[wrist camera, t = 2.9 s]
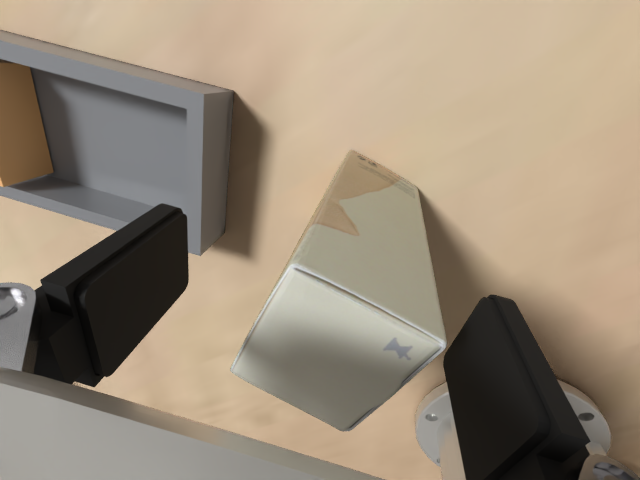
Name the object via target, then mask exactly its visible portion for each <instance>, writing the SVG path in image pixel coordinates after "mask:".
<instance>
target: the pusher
mask: <svg viewBox="0 0 640 480" xmlns="http://www.w3.org/2000/svg"><path fill="white" fill-rule="evenodd" d="M53 172H54V171H53V167H52V162H51V158H50V154H49V149H48V145H47V140H46V136H45V132H44V127H43V123H42V119H41V114H40V110H39V105H38V101H37V97H36V92H35V88H34V83H33V79H32V75H31V70H30V67H29V66H25V65H21V64H18V63H14V62H10V61H7V60H3V59H0V186H1V187H6V186H9V185H12V184H16V183H19V182H23V181H26V180H30V179H33V178H36V177H40V176H43V175H47V174H50V173H53Z"/></svg>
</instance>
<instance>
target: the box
mask: <svg viewBox="0 0 640 480" xmlns="http://www.w3.org/2000/svg"><path fill="white" fill-rule="evenodd" d="M446 345H447V339H446V334H445V328H444V323H443V318H442V313H441V308H440V303H439V297H438V292H437V287H436V282H435V276H434V272H433V266H432V260H431V256H430V251H429V245H428V240H427V234H426V229H425V224H424V219H423V214H422V208H421V202H420V197H419V192H418V188H417V187H416V186H414V185H413V184H411V183H409V182H408V181H406V180H405V179H403V178H402V177H400V176H398V175H397V174H395V173H393V172H392V171H390V170H388V169H386V168H385V167H383V166H381V165H380V164H378V163H376V162H374V161H372V160H370V159H369V158H367V157H365V156H363V155H361V154H359V153H357V152H355V151H353V150H351V151H349V152H348V154H347V155H346V157H345V159H344V161H343V162H342V164H341V166H340V168H339V169H338V171H337V173H336V175H335V176H334V178H333V180H332V182H331V183H330V185H329V187H328V189H327V191H326V192H325V194H324V196H323V198H322V199H321V201H320V203H319V205H318V207H317V209H316V210H315V212H314V214H313V216H312V218H311V220H310V222H309V224H308V225H307V227H306V229H305V231H304V233H303V234H302V236H301V238H300V240H299V242H298V244H297V246H296V247H295V249H294V251H293V253H292V255H291V257H290V259H289V261H288V262H287V264H286V266H285V268H284V270H283V272H282V273H281V275H280V277H279V279H278V281H277V283H276V284H275V286H274V288H273V290H272V292H271V294H270V295H269V297H268V299H267V301H266V303H265V305H264V306H263V308H262V310H261V312H260V313H259V315H258V317H257V319H256V321H255V323H254V324H253V326H252V328H251V330H250V332H249V334H248V336H247V337H246V339H245V341H244V343H243V345H242V347H241V349H240V351H239V353H238V355H237V357H236V359H235V360H234V362H233V364H232V366H231V369H230V371H231V372H232V373H233V374H235V375H236V376H238V377H240V378H241V379H243V380H245V381H247V382H248V383H250V384H252V385H254V386H256V387H258V388H260V389H262V390H263V391H265V392H267V393H269V394H271V395H273V396H275V397H277V398H279V399H281V400H283V401H285V402H287V403H289V404H291V405H293V406H295V407H297V408H299V409H301V410H303V411H304V412H306V413H308V414H310V415H312V416H314V417H316V418H318V419H320V420H322V421H323V422H325V423H327V424H329V425H331V426H333V427H335V428H336V429H338V430H340V431H350V430H352V429H354V428H355V427H356V426H357V425H358V424H359V423H361V422H362V421H363V420H364V419H365V418H367V417H368V416H369V415H370V414H371V413H372V412H374V411H375V410H376V409H377V408H378V407H380V406H381V405H382V404H383V403H385V402H386V401H387V400H388V399H389V398H391V397H392V396H393V395H394V394H395V393H396V392H397V391H398V390H400V389H401V388H402V387H403V386H404V385H405V384H406V383H407V382H408V381H410V380H411V379H412V378H413V377H414V376H415V375H416V374H417V373H419V372H420V371H421V370H422V369H423V368H424V367H425V366H426V365H428V364H429V363H430V362H431V361H432V360H433V359H434V358H435V357H437V356H438V355H439V354H440V353H441V352H442V351H443V350H444V349H445V348H446Z"/></svg>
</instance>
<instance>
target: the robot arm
mask: <svg viewBox="0 0 640 480" xmlns="http://www.w3.org/2000/svg"><path fill="white" fill-rule="evenodd" d="M188 280H189V279H188V227H187V216H186V215H185V214H183V211H182V209H181V208H178V207H175V206H171V205H167V204H163V203H161V204H159V205H157V206H156V207H154V208H152V209H151V210H149V211H148V212H146V213H145V214H143V215H141V216H140V217H138V218H137V219H135V220H134V221H132V222H130V223H129V224H127V225H126V226H124V227H123V228H121V229H119V230H118V231H116V232H115V233H113V234H112V235H110V236H108V237H107V238H105V239H104V240H102V241H101V242H99V243H98V244H96V245H94V246H93V247H91V248H90V249H88V250H87V251H85V252H83V253H82V254H80V255H79V256H77V257H76V258H74V259H72V260H71V261H69V262H68V263H66V264H65V265H63V266H61V267H60V268H58V269H57V270H55V271H54V272H52V273H50V274H49V275H47V276H46V277H44V278H43V279H41V283H42V286H41V287H39V288H37V289H36V290H33V289H32V288H31V287H30V286H27V285H24V284H21V283H12V282H11V283H0V480H385V479H382V478H378V477H375V476H372V475H369V474H366V473H362V472H359V471H356V470H353V469H350V468H346V467H343V466H340V465H337V464H333V463H330V462H327V461H324V460H320V459H317V458H314V457H311V456H308V455H304V454H301V453H298V452H295V451H291V450H288V449H285V448H282V447H278V446H275V445H272V444H269V443H265V442H262V441H259V440H256V439H252V438H249V437H246V436H243V435H239V434H236V433H233V432H230V431H226V430H223V429H220V428H216V427H213V426H210V425H207V424H203V423H200V422H197V421H193V420H190V419H187V418H183V417H180V416H177V415H173V414H170V413H167V412H164V411H160V410H157V409H154V408H150V407H147V406H144V405H140V404H137V403H134V402H130V401H127V400H124V399H120V398H117V397H114V396H111V395H107V394H104V393H100V392H96V391H93V390H89V389H86V388H82V387H79V386H75V385H72V383H73V382H74V381H75V382H79V383H82V384H85V385H88V386H92V387H95V386H96V385H97V384H98V383H99V382H100V381H101V379H102V378H103V377H104V376H105V377H108V376H110V375H111V374H113V373H114V372H115V370H116V369H117V368H118V367H119V366H120V365H121V364H122V362H123V361H124V360H125V359H126V358H127V357H128V355H129V354H130V353H131V352H132V351H133V350H134V349H135V347H136V346H137V345H138V344H139V343H140V342H141V340H142V339H143V338H144V337H145V336H146V335H147V334H148V332H149V331H150V330H151V329H152V328H153V327H154V325H155V324H156V323H157V322H158V321H159V320H160V319H161V317H162V316H163V315H164V314H165V313H166V312H167V310H168V309H169V308H170V307H171V306H172V305H173V304H174V302H175V301H176V300H177V299H178V298H179V297H180V295H181V294H182V293H183V292H184V291H185V289H186V287H187V285H188ZM443 365H444V371H445V376H446V381H447V382H445V383H443V384H442V385H440V386H438V387H436V388H435V389H433V390H432V391H431V392H430V393H429V394H427V395H426V396H425V397H424V399H423V400H422V402H421V403H420V404H419V406H418V409H417V411H416V414H415V430H416V438H417V441H418V443H419V445H420V447H421V449H422V450H423V451H424V453H425V454H426V455H427V457H428V458H430V459H431V460H432V461H433V462H434V463H435V464H436V465H438V466H439V467H441V474H442V480H640V478H639V477H638V476H637V475H636V474H635V473H634V472H633V471H631V470H630V469H629V468H627V467H626V466H624V465H623V464H621V463H620V462H618V461H616V460H614V459H612V458H610V457H608V456H607V455H606V454H607V452H608V450H609V448H610V443H611V433H610V429H609V425H608V424H607V422H606V420H605V419H604V417H603V415H602V414H601V412H600V410H599V409H598V407H597V406H596V405H595V404H594V403H593V401H592V400H591V399H590V398H589V397H588V396H586V395H585V394H584V393H582V392H581V391H579V390H578V389H577V388H575V387H573V386H571V385H569V384H567V383H564V382H562V381H560V380H557V379H556V377H555V375H554V373H553V371H552V369H551V368H550V366H549V364H548V362H547V360H546V358H545V357H544V355H543V353H542V351H541V349H540V347H539V346H538V344H537V342H536V340H535V338H534V336H533V335H532V333H531V331H530V329H529V327H528V325H527V324H526V322H525V320H524V318H523V316H522V314H521V312H520V311H519V309H518V307H517V305H516V303H515V302H514V301H513V300H511V299H507V298H504V297H500V296H497V295H490V296H488V297H487V298H486V297H483V298H482V299H481V300H480V301H479V303H478V304H477V306H476V307H475V309H474V311H473V312H472V314H471V315H470V317H469V318H468V320H467V321H466V323H465V324H464V326H463V328H462V329H461V331H460V332H459V334H458V335H457V337H456V338H455V340H454V341H453V343H452V345H451V346H450V348H449V349H448V351H447V352H446V354H445V356H444V361H443Z"/></svg>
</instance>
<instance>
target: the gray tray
mask: <svg viewBox="0 0 640 480" xmlns="http://www.w3.org/2000/svg"><path fill="white" fill-rule="evenodd" d="M0 59H3V60H7V61H10V62H14V63H18V64H21V65H25V66H29V67H30V70H31V75H32V79H33V83H34V88H35V92H36V97H37V101H38V105H39V110H40V114H41V119H42V123H43V127H44V132H45V136H46V140H47V145H48V149H49V154H50V158H51V162H52V167H53V171H54V172H53V173H50V174H47V175H43V176H40V177H36V178H33V179H30V180H26V181H23V182H19V183H16V184H12V185H9V186H6V187H1V186H0V196H4V197H7V198H10V199H13V200H17V201H20V202H23V203H27V204H30V205H33V206H37V207H40V208H43V209H47V210H50V211H53V212H56V213H60V214H63V215H66V216H70V217H73V218H76V219H80V220H83V221H86V222H90V223H93V224H96V225H100V226H103V227H106V228H109V229H113V230H116V231H118V230H119V229H121V228H123V227H124V226H126V225H127V224H129V223H130V222H132V221H134V220H135V219H137V218H138V217H140V216H141V215H143V214H145V213H146V212H148V211H149V210H151V209H152V208H154V207H156V206H157V205H159V204H161V203H163V204H167V205H171V206H175V207H178V208H181V209H182V211H183V214H185V215H186V216H187V227H188V252H189V253H192V254H195V255H199V256H201V255H202V254H203V253H204V252H205V251H206V250H207V249H208V248H209V247H210V246H211V245H212V244H213V243H214V242H215V241H216V240H217V239H218V238H219V237H221V236H222V235H223V234H224V232H225V217H226V202H227V187H228V172H229V157H230V142H231V126H232V111H233V96H234V91H233V90H229V89H225V88H221V87H217V86H213V85H210V84H206V83H202V82H198V81H194V80H191V79H187V78H183V77H179V76H175V75H171V74H168V73H164V72H160V71H156V70H152V69H148V68H145V67H141V66H137V65H133V64H129V63H126V62H122V61H118V60H114V59H110V58H106V57H103V56H99V55H95V54H91V53H87V52H83V51H80V50H76V49H72V48H68V47H64V46H61V45H57V44H53V43H49V42H45V41H41V40H38V39H34V38H30V37H26V36H22V35H18V34H15V33H11V32H7V31H3V30H0Z"/></svg>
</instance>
